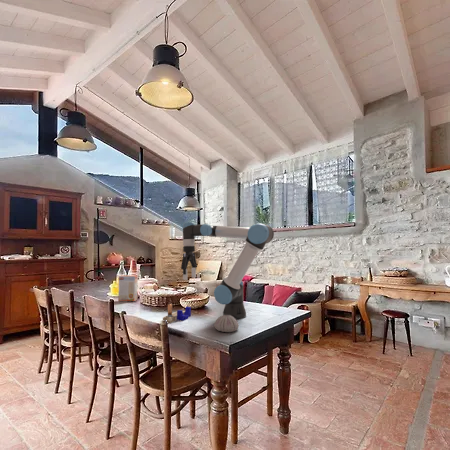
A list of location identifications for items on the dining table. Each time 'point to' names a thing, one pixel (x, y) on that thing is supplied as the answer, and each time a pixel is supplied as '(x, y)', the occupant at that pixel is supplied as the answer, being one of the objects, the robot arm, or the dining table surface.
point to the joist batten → (173, 318)
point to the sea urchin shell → (226, 323)
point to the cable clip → (186, 314)
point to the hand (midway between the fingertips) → (189, 278)
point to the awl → (169, 310)
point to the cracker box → (127, 288)
